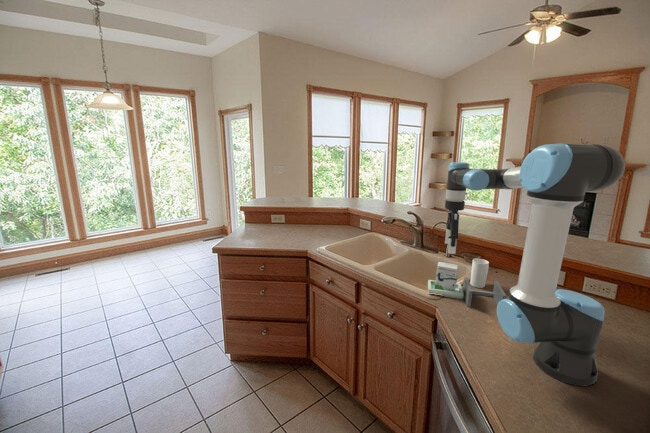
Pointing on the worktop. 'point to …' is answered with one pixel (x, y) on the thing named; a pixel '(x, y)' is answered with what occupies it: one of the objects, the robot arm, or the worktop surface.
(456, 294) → the tray
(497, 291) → the bay
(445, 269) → the ink box
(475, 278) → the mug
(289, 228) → the worktop surface
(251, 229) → the worktop surface
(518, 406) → the worktop surface
